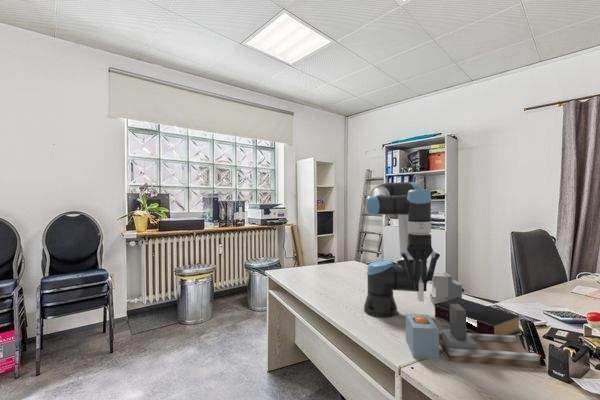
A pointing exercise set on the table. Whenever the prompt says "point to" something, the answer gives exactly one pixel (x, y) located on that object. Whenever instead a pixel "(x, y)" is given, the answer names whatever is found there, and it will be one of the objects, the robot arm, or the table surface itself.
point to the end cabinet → (422, 337)
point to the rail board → (493, 348)
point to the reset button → (420, 320)
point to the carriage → (458, 330)
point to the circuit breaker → (444, 288)
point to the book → (481, 317)
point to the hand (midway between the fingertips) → (420, 300)
